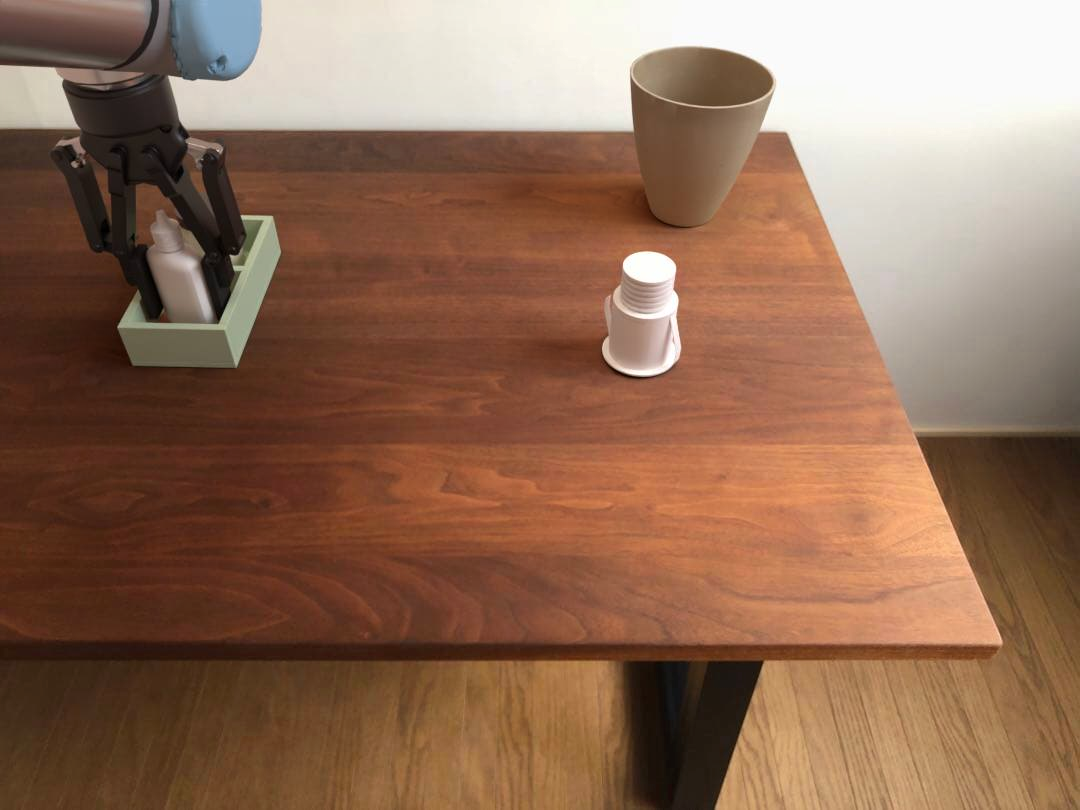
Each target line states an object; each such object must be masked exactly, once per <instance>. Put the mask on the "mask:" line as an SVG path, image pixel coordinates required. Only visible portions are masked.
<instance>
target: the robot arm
mask: <svg viewBox="0 0 1080 810" xmlns="http://www.w3.org/2000/svg"><path fill="white" fill-rule="evenodd" d="M262 6H263V5H262V0H0V66H7V67H8V66H9V67H28V68H29V67H30V68H32V67H33V68H53V69H55V71H56V74H57V75H58V76H59V77H60V78H61V79H62V82H61V87H62V90H63V93H64V95H65V97H66V101H67V103H68V106H69V108H70V111H71V113H72V116H73V119H74V122H75V124H76V125H77V127H78V128H80V134H79V136H77V137H74V136H72V135H69V134H68V135H64V136H62V137H61V139H60V140H59V141H57V143H56V144H55V146H54V147H53V149H51V151H50V152H49V157H50V158H51V160H52V161H53V162H54V164H55V165H56V166H57V168H58V169H59V171H60V172H61V174H62V175H63V176H64V177H65V181H66V183H67V186H68V189H69V192H70V195H71V198H72V201H73V204H74V206H75V210H76V213H77V215H78V218H79V220H80V225H81V226H82V229H83V233H84V235H85V238H86V240H87V244H88V245H89V247H88V248H89V249H90V250H91V251H92V252H94V253H96V254H101V253H103V252H105V253H109V254H111V255H113V256H114V258H116V259H117V261H118V262H119V265H120V268H121V270H122V273H123V276H124V279H125V281H126V282H127V284H128V285H129V286H130V287H137V291H138V290H139V293H140V295H141V298H142V301H143V303H144V306H145V309H146V311H147V314H148V317H149V319H150V320H158V318H159V316H160V314H161V312H162V310H163V305H162V302H161V299H160V297H159V294H158V291H157V288H156V285H155V282H154V280H153V277H152V274H151V271H150V268H149V265H148V262H147V259H146V252H147V250H148V249H149V246H148V244H147V243H138V244H137V245H136V243H137V241H138V240H139V237H140V235H139V234H137V188H136V187H137V185H141V184H145V185H150V186H153V187H155V186H156V187H157V188H158V189H159V191H160V192H161V194H162V196H163V197H164V198H166V199H169V200H170V202H171V203H172V205H173V207H174V209H175V208H176V209H177V211H178V212H179V214H180V216H181V217H182V219H183V220H184V222H185V223H186V225H187V226H188V228H189V229H190V231H191V232H192V234H193V236H194V237H195V239H196V240H197V242H198V243H199V245H200V246H201V248H202V249H203V251H204V252H205V255H204V257H203V259H202V261H201V263H200V264H201V267H202V270H203V273H204V277H205V280H206V283H207V286H208V290H209V293H210V296H211V299H212V303H213V306H214V309H215V312H216V316H217V319H218V321H220V320H221V317H222V315H223V313H224V310H225V308H226V306H227V304H228V301H229V299H230V297H231V291H230V287H231V284H232V282H233V280H234V276H235V272H234V269H233V265H232V261H231V258H230V255H232V256H236V255H238V254H239V253H240V250H241V248H242V246H243V244H244V242H245V239H246V237H247V234H246V231H245V228H244V225H243V221H242V218H241V215H242V214H241V212H240V208H239V206H238V202H237V200H236V196H235V193H234V190H233V186H232V184H231V179H230V177H229V173H228V171H227V167H226V156H227V155H226V154H227V144H226V142H225V141H224V140H223V139H221V138H218V137H215V138H213V139H212V140H211V141H210V142H209V141H205V140H202V139H198V138H194V137H192V136H191V134H190V132H189V131H188V130H187V129H186V127H185V126H184V125H183V124H182V122H181V119H180V116H179V110H178V105H177V102H176V98H175V95H174V91H173V88H172V85H171V81H170V77H175V78H181V79H183V81H185V80H186V81H191V82H194V81H198V80H206V81H216V82H228V81H232V80H236V79H237V78H239V77H241V76H242V75H243V74H244V73H245V72H246V71H247V70H248V69H249V68H250V67H251V65H252V64H253V61H255V58H256V56H257V53H258V50H259V46H260V43H261V38H262V31H263V27H262V20H263V19H262V18H263V17H262V15H263V14H262V13H263V7H262ZM186 155H190V156H191V158H193V161H194V164H195V168H196V169H197V171H201V178H202V179H201V180H202V184H203V186H204V187H203V188H204V189H205V192H206V193H207V196H208V199H209V202H210V204H211V207H212V210H213V213H214V216H215V218H214V217H213V215H212V213H211V212H210V210H209V208H208V207H207V205H206V204H205V202H204V200H203V199H202V197H201V196H200V194H199V193H200V192H199V190H198V189H197V188H196V186H195V184H194V183H193V181H192V179H191V173H190V171H189V169H188V167H187V166H186V164H185V162H184V159H185V157H186ZM91 158H92V159H93V160H95V162H97V163H98V164H99V165H101V167H103V169H105V170H106V171H107V192H108V193H109V194H110V216H109V214H108V211H107V207H106V204H105V202H104V201H105V200H104V198H103V195H102V192H101V189H100V186H99V182H98V179H97V177H96V173H95V170H94V167H93V165H92V162H91ZM110 217H111V218H110ZM110 219H111V220H110ZM215 219H216V220H215Z"/></svg>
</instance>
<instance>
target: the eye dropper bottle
mask: <svg viewBox="0 0 1080 810" xmlns="http://www.w3.org/2000/svg"><path fill="white" fill-rule="evenodd" d="M154 213H155V221H154V222H152V223H151V225H150V227H149V231H150V233H151V237H152V239H153V240H152V241H153V242H154V244H152V245H151V246H150V247H148V250H147V252H146V259H147V262H148V265H149V268H150V271H151V274H152V277H153V280H154V282H155V285H156V288H157V291H158V294H159V297H160V299H161V302H162V305H163V308H164V310H165V313H166V316H167V318H168V319H169V320H170V322H171V323H186V324H219V322H220V321H218V319H217V316H216V312H215V309H214V306H213V303H212V299H211V296H210V293H209V290H208V286H207V283H206V280H205V277H204V273H203V270H202V267H201V264H200V263H201V261H202V259H203V257H202V256H201V255H200V254H199V252H198V251H197V250H195V249H194V248H193V247H192V246H190V245H189V244H187V243H185V241H184V238H183V234H182V231H181V228H180V225H179V222H178V221H177V219H175V218H170V217H168V216H167V213H166V212H165V210H164V209H158V210H156V211H155V212H154Z"/></svg>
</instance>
